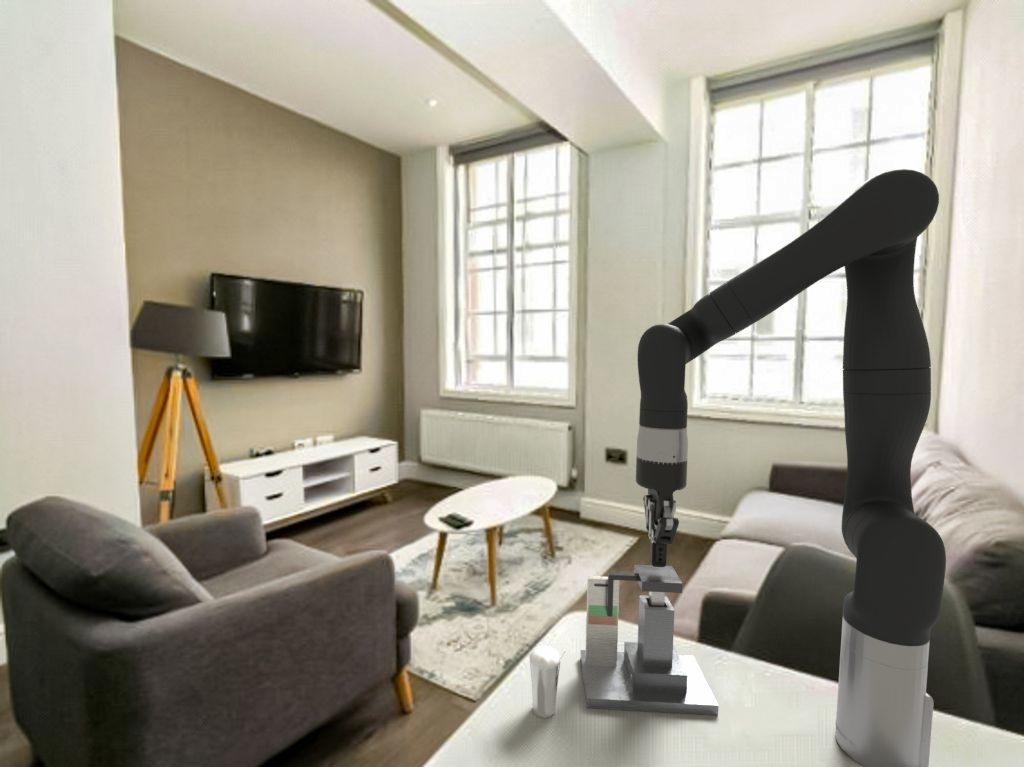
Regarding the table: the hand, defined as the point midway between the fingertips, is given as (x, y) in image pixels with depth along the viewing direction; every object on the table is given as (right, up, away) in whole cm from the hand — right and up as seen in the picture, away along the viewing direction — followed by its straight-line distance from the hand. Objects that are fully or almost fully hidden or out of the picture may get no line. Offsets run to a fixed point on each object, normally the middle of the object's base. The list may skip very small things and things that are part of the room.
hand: (657, 564), depth 78 cm
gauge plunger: (-3, -13, +1) cm, 13 cm away
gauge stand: (-2, -20, +1) cm, 20 cm away
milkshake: (-18, -20, -5) cm, 27 cm away
